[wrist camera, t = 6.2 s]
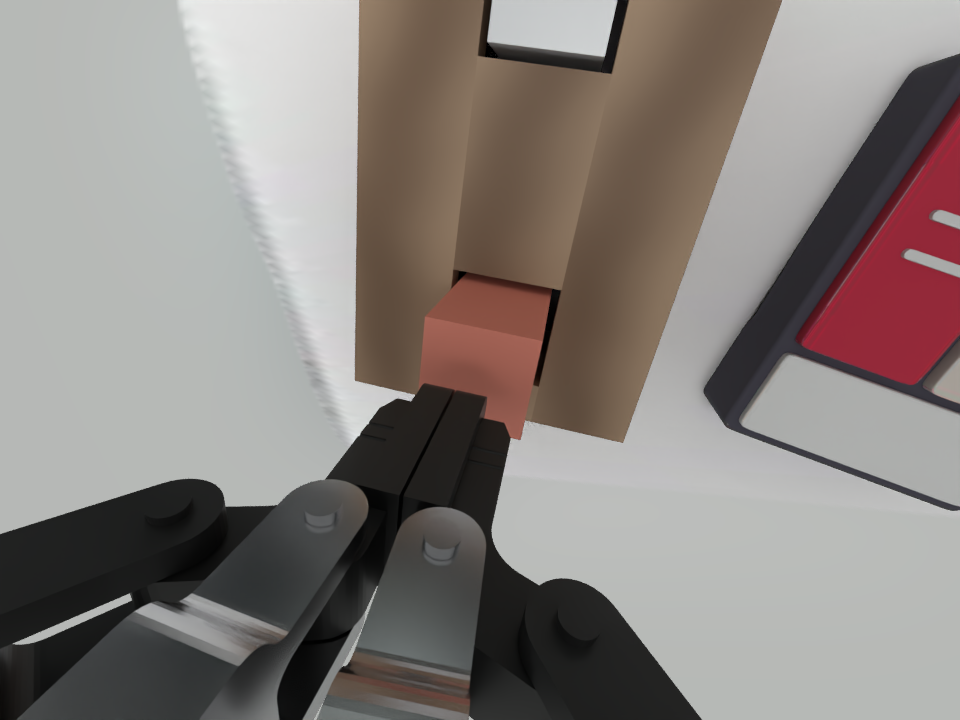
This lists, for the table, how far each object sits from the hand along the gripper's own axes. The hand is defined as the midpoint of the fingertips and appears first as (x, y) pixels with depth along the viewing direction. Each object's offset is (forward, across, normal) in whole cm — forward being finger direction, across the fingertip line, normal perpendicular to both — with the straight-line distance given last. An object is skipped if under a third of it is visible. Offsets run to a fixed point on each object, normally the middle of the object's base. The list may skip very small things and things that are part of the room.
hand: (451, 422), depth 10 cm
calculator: (+14, -17, -3) cm, 22 cm away
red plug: (+9, 0, 0) cm, 9 cm away
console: (+13, 0, -5) cm, 14 cm away
